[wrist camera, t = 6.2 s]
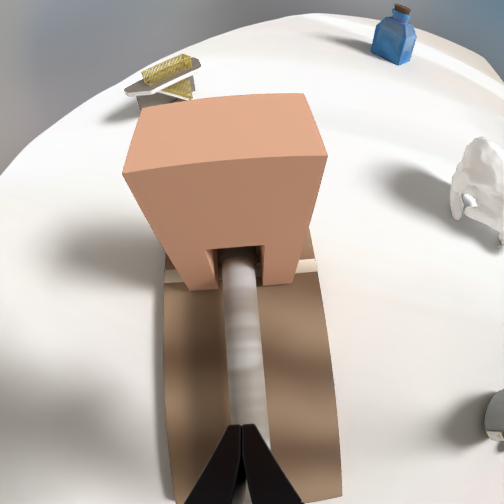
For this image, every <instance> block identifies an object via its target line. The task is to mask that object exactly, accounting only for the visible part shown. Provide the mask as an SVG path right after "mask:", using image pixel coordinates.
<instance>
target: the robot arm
mask: <svg viewBox="0 0 504 504" xmlns="http://www.w3.org/2000/svg"><path fill="white" fill-rule="evenodd" d="M246 480H247V484H248V489H249V493H250V497H251V502H252V504H305V503H304V502H302V499H301V498H300V496H299V495H298V493H297V492H296V490H295V489H294V487H293V486H292V484H291V483H290V481H289V480H288V478H287V476H286V475H285V473H284V472H283V470H282V468H281V467H280V465H279V464H278V462H277V460H276V459H275V457H274V455H273V454H272V452H271V450H270V449H269V447H268V445H267V444H266V442H265V440H264V439H263V437H262V435H261V434H260V432H259V430H258V428H257V427H256V425H255V424H253V423H251V424H243V425H242V426H241V425H240V424H233V425H228V426H227V428H226V430H225V432H224V433H223V435H222V437H221V439H220V441H219V443H218V445H217V446H216V448H215V450H214V452H213V454H212V455H211V457H210V459H209V461H208V463H207V464H206V466H205V468H204V470H203V471H202V473H201V475H200V477H199V478H198V480H197V482H196V483H195V485H194V487H193V489H192V490H191V492H190V494H189V495H188V497H187V499H186V500H185V502H184V504H245V496H246Z"/></svg>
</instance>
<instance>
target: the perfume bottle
mask: <svg viewBox="0 0 504 504" xmlns="http://www.w3.org/2000/svg"><path fill="white" fill-rule="evenodd" d="M410 11H411V10H410V9H409V8H407V7H404V6H402V5H399V4H395V9H393V10H392V13H393V17H385V19H383V20H382V21H381V22H380V23H379V24H377V25H376V29H375V34H374V38H373V43H372V47H371V52H372V53H374V54H376V55H378V56H381V57H383V58H385V59H387V60H389V61H390V62H392V63H394V64H396V65H401V64H404V63H406V62H409V61H410V58H411V54H412V51H413V48H414V44H415V41H416V34H415V31H414V28H413V25H412V24H410V23H408V22H407V21H408V19H410V14H409V13H410Z"/></svg>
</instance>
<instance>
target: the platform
mask: <svg viewBox="0 0 504 504" xmlns="http://www.w3.org/2000/svg"><path fill="white" fill-rule="evenodd" d="M181 55H182V57H181V59H180V61H179V58H180V56H181ZM181 55H178V56H176V57H173V58H174V61H173V63H172V60H173V58H171V59H169V60H171V61H170V64H169V65H168V63H169V60H166V61H167V64H166V66H165V67H164V65H165V63H166V61H164V62H162V63H164V64H163V67H162V69H160V68H161V66H162V63H160V64H161V65H160V67H159V69H158V66H159V64H157V65H155V66H153V67H154V68H153V67H151V69H150V68H149V69H150V72H149V73H148V71H149V69H147V73H145V72H146V70H145V71H143V72H141V73H142V76H143V79H142V80H140V81H138V82H136V83H134V84H132V85H131V86H129V87H127V88H125V89H124V91H125V94H126V95H127V96H129V97H131V96H136V97H137V100H138V103H139V106H140V109H141V110H142V108H146V107H151V106H157V105H162V104H168V103H171V102H173V101H175V100H177V99H179V98H181V99H184V100H189V99H191V98H192V99H193V97H191V96H192V92H193V91H195V85H194V79H193V75H194V74H196V73H198V72H200V71H201V70H202V69H201V64H200V62H199V60H198V59H196V58H193V57H192V58H190V57H191V56H188V55H185V54H181ZM177 57H178V59H177V61H176V62H175V60H176V58H177ZM171 63H172V64H171ZM167 65H168V66H167ZM156 66H157V68H156V70H155V72H154V69H155V67H156ZM152 68H153V71H152V73H151V70H152ZM157 69H158V70H157ZM143 73H144V74H146V75H145V77H144V74H143ZM150 73H151V74H150ZM153 73H154V74H153ZM147 74H148V76H147ZM149 75H150V76H149ZM146 76H147V77H146ZM189 93H190V95H188V94H189Z"/></svg>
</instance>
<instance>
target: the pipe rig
mask: <svg viewBox="0 0 504 504" xmlns="http://www.w3.org/2000/svg"><path fill="white" fill-rule="evenodd" d="M217 256H218V287H219V289H212V290H196V291H190V290H189V289H188V287H187V286H186V284H185V283H184V281H183V279H182V278H181V276H180V275H179V273H178V271H177V270H176V268H175V266H174V265H173V263H172V262H171V260H170V258H169V257H168V255H167V253H166V259H165V270H164V311H163V359H164V390H165V409H166V423H167V436H168V446H169V456H170V465H171V473H172V481H173V488H174V495H175V502H176V504H184V502H185V500H186V499H187V497H188V495H189V494H190V492H191V490H192V489H193V487H194V485H195V483H196V482H197V480H198V478H199V477H200V475H201V473H202V471H203V470H204V468H205V466H206V464H207V463H208V461H209V459H210V457H211V455H212V454H213V452H214V450H215V448H216V446H217V445H218V443H219V441H220V439H221V437H222V435H223V433H224V432H225V430H226V428H227V426H228V425H233V424H240V425H241V426H242V425H243V424H251V423H253V424H255V425H256V427H257V428H258V430H259V432H260V434H261V435H262V437H263V439H264V440H265V442H266V444H267V445H268V447H269V449H270V450H271V452H272V454H273V455H274V457H275V459H276V460H277V462H278V464H279V465H280V467H281V468H282V470H283V472H284V473H285V475H286V476H287V478H288V480H289V481H290V483H291V484H292V486H293V487H294V489H295V490H296V492H297V493H298V495H299V496H300V498H301V499H302V502H304V503H310V502H316V501H321V500H326V499H331V498H336V497H340V496H342V475H341V458H340V443H339V430H338V419H337V408H336V399H335V389H334V380H333V372H332V364H331V356H330V349H329V342H328V334H327V328H326V321H325V314H324V308H323V302H322V296H321V290H320V284H319V278H318V273H317V265H316V260H315V256H314V251H313V246H312V241H311V236H310V231H309V228H308V231H307V235H306V238H305V242H304V245H303V249H302V252H301V255H300V259H299V262H298V265H297V269H296V272H295V275H294V279H293V282H292V283H288V284H277V285H265V286H263V282H262V272H261V262H260V252H259V245H257V246H244V247H231V248H218V249H217ZM245 504H252V502H251V497H250V493H249V489H248V484H247V480H246V496H245Z"/></svg>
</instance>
